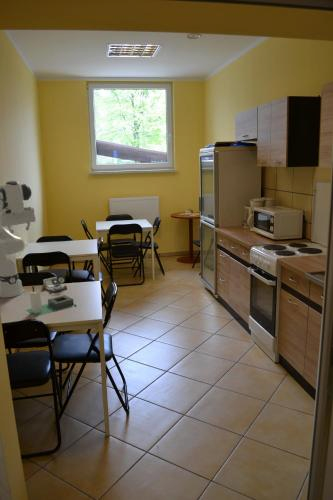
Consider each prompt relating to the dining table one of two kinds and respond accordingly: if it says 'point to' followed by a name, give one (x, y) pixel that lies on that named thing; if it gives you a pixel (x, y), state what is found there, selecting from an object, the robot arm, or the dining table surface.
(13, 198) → the robot arm
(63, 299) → the grey square tray
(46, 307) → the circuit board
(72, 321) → the dining table surface
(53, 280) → the grey mechanical device
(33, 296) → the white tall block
